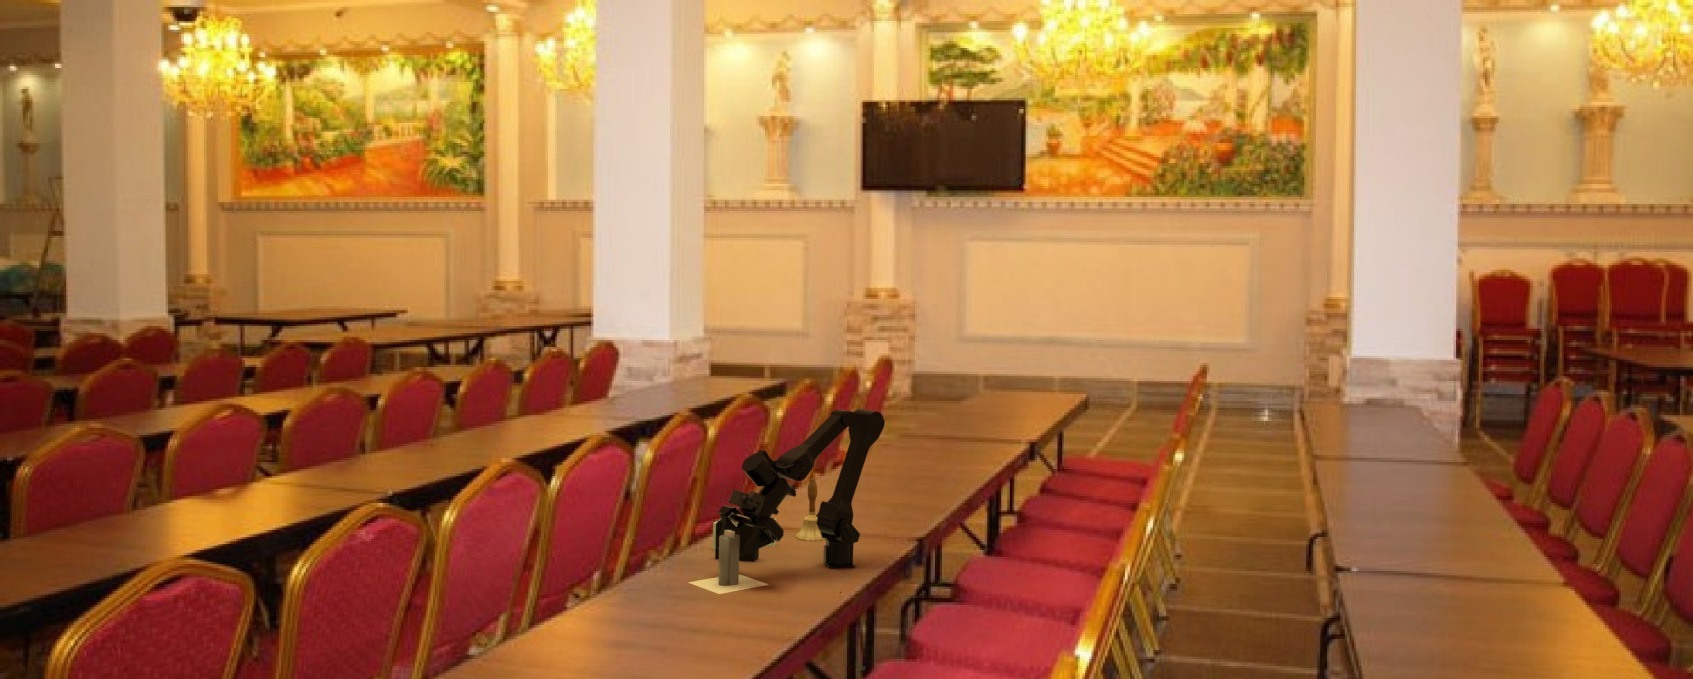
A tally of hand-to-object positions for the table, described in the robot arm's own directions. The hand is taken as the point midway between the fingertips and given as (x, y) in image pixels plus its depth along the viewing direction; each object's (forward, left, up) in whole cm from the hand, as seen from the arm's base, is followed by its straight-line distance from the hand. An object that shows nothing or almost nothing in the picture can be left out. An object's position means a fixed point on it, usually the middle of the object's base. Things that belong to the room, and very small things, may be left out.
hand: (729, 551), depth 308 cm
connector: (0, 0, -7) cm, 7 cm away
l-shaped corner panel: (-10, -36, -9) cm, 38 cm away
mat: (0, 0, -8) cm, 8 cm away
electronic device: (-6, -23, -8) cm, 25 cm away
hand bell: (-30, -45, -8) cm, 55 cm away
